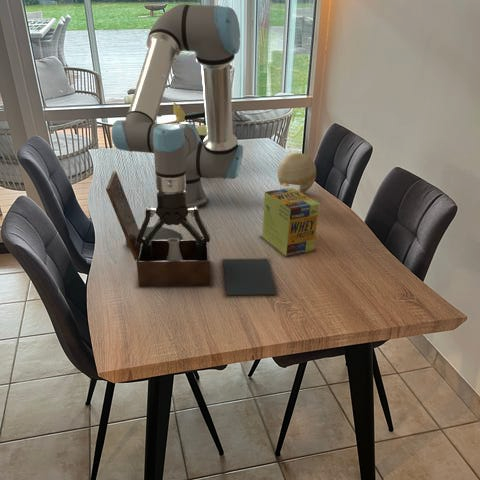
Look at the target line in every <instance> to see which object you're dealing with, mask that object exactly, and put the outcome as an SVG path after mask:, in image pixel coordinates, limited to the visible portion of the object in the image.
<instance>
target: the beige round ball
mask: <svg viewBox="0 0 480 480" xmlns="http://www.w3.org/2000/svg"><path fill="white" fill-rule="evenodd" d="M316 177H317V167H316V164H315V161H314V160H313V159H312V158H311V157H310V156H308V155H307V154H305V153H301V152H294V153H290V154H288V155H286V156H284V158H283V159H282V160H281V161H280V163H279V165H278V168H277V180H278V182H279V184H280V187H281V186H282V184H283V183H285V184H293V185H301V190H300V192H301V193H304V192H306V191H308V190H309V189H310V188H312V186H313V184H314V183H315V181H316Z"/></svg>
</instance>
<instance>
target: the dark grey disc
mask: <svg viewBox="0 0 480 480" xmlns="http://www.w3.org/2000/svg"><path fill="white" fill-rule="evenodd" d="M152 228H153V226H147V228H146V231H145V233H144V235H143V237H146V235H147V234H148V233H149V232H150V230H151V229H152ZM138 229H139V228H138ZM140 229H141V228H140ZM140 229H139V231H140ZM170 238H178V239H179V240H183V235H182V234H181V233H180V232H178V231H176V230H174V229H171V228H169V227H165V226H164V227H163V226H162V227H161V228H160V229H159V230H158V232H157V233H156V234H155V235H154V237H153V238H152V239H151V240H169V239H170ZM125 245H126V248H127V249H129V250H130V247H129V245H128V242H127V240H126V239H125Z"/></svg>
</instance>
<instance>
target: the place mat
mask: <svg viewBox="0 0 480 480" xmlns="http://www.w3.org/2000/svg"><path fill="white" fill-rule="evenodd" d="M223 270H224V271H223V272H224V280H225V290H226V292H225V293H226V297H249V296H250V297H251V296H254V297H255V296H256V297H258V296H260V297H261V296H276V291H275V287H274V282H273V278H272V275H271V269H270V266H269V263H268V258H247V259H246V258H243V259H241V258H239V259H238V258H237V259H232V258H231V259H226V258H225V259H223Z"/></svg>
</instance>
